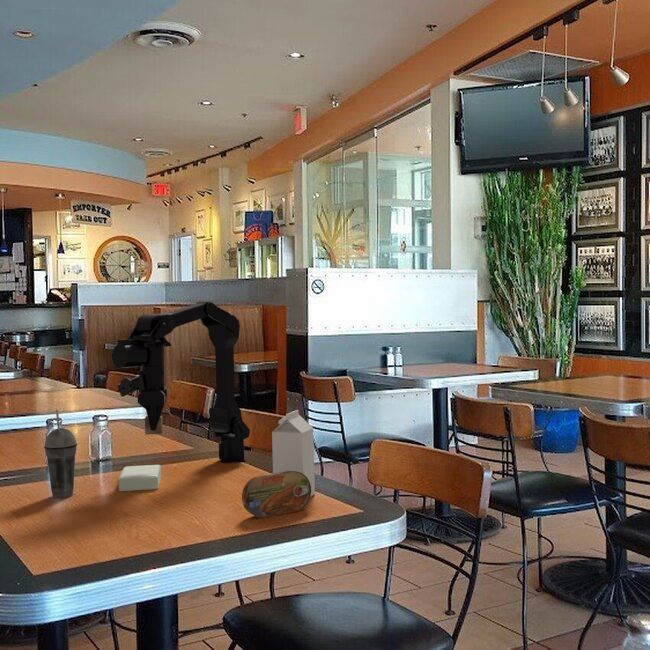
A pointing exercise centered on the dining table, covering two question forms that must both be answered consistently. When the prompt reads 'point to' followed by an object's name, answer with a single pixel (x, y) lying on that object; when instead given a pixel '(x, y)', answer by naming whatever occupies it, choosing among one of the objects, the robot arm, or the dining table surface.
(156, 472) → the plinth
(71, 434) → the beverage cup
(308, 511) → the dining table surface
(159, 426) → the walnut block
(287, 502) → the tin
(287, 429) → the milk carton
